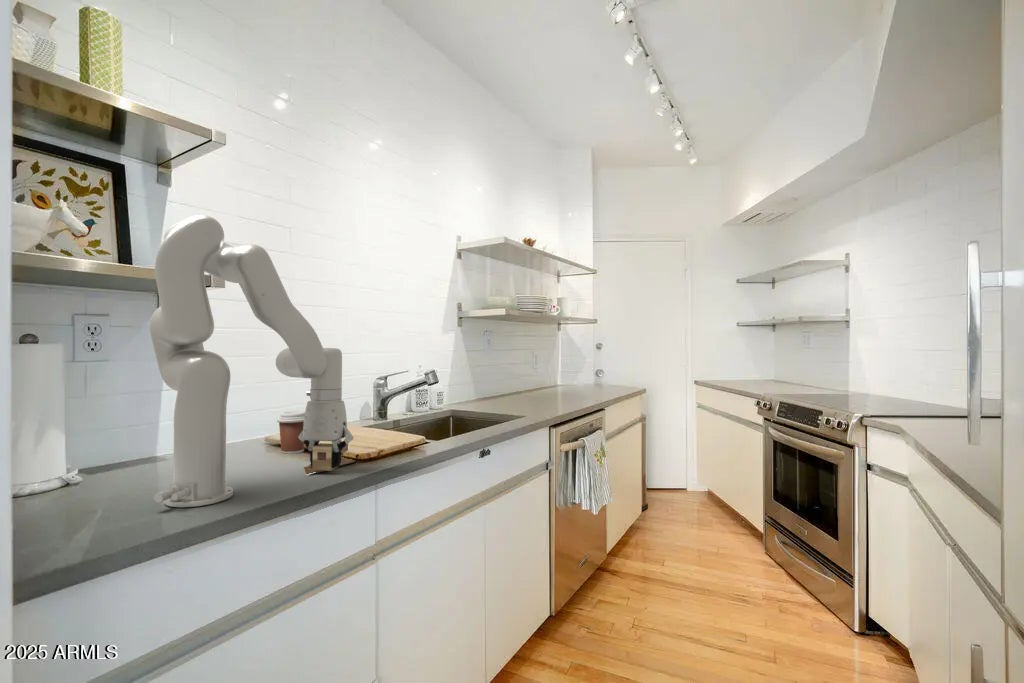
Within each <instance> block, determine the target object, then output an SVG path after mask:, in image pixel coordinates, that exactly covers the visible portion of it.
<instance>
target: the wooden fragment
mask: <svg viewBox="0 0 1024 683" xmlns="http://www.w3.org/2000/svg"><path fill="white" fill-rule="evenodd" d="M356 461H357V459H356V460H352V459H347V458H344V457H342V456H341V463H340V465H339V466H338V467H340V466H345V465H349V464H352V463H356ZM304 469H305V471H304V472H305V474H309V473H313V472H316V473H317V474H319V473H323V472H326V470H312V467H311V463H310V464H309V465H307V466H304V467H303V470H304Z"/></svg>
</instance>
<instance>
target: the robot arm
mask: <svg viewBox="0 0 1024 683" xmlns="http://www.w3.org/2000/svg"><path fill="white" fill-rule="evenodd" d="M154 264H155V266H154V273H155V281H156V282H155V283H156V287H157V293H158V299H159V304H160V306H159V307H158V308H156V309H155V310H154V312H153V313H152V315H151V317H150V322H149V331H150V337H151V341H152V346H153V350H154V355H155V358H156V362H157V365H158V370H159V373H160V376H161V378H162V380H163V382H164V383H165V385H166V386H168V387H169V388H170V389H171V390H173V391H175V392H177V393H176V399H175V404H174V405H175V406H174V411H173V462H172V463H173V468H172V470H173V472H172V473H173V476H172V478H173V479H172V480H173V481H171V482H169V487H168V488H167V489H166V490H162V491H158V492H156V493H155V494H154V496H153V499H154V501H155V502H156V503H158V504H159V503H161V502H163V504H164V505H165V506H168V507H171V508H172V507H173V508H194V507H202V506H209V505H212V504H216V503H217V504H218V503H220V502H222V501H226V500H227V499H230V498H231V497H232V496H233V495H234V489H233V487H231V486H228V485H226V476H227V475H226V469H227V468H226V464H227V463H226V459H227V452H226V451H227V405H228V404H227V403H228V396H229V390H230V385H231V370H230V366H229V365H228V363H227V361H226V360H225V359H224V358H223V357H222V356H221V355H219V353H218V354H217V353H216V352H212V351H210V350H205V347H204V343H205V342H206V341H208V340H209V339H210V338H211V337H212V336H213V334H214V330H215V320H214V316H213V312H212V309H211V308H212V307H211V304H210V299H209V296H208V291H207V286H206V279H205V273H206V274H209V275H211V276H214V277H216V278H219V279H221V280H222V281H227V282H229V283H233V284H238V285H239V288H241V291H242V293H243V294H244V295H243V296H245V299H246V300H247V302H248V305H249V307H250V310H251V311H252V313H253V315H254V316H255V318H256V319H257V320H259V321H260V322H261V323H262V324H264V325H266V326H267V327H269V328H270V329H272V330H273V331H274V332H276V333H277V335H279V336H280V337H281V339H282V340H283V341H284V343H285V344H286V345H287V347H286V348H285V349H283V350H281V351H280V352H279V353H278V354H277V356H276V358H275V367H276V369H277V370H278V372H279V373H280V374H282V375H284V376H286V377H290V378H297V379H298V378H299V379H300V378H301V379H310V389H309V390H307V391H306V397H309V399H310V400H308V401H307V402H306V407H305V409H304V410H305V411H304V412H305V416H304V426H303V431H302V432H301V433H300V435H299V436H298V438H299V439H300V440H301V441H302V442H304V446H306V448H307V450H308V451H309V462H310V464H311V467H312V462H313V446H315V445H318V444H320V443H321V442H331V444H332V445H333V448H334V452H332V468H335V467H337V466H338V467H340V466H339V465H340V463H341V450H343V448H344V447H345V446H346V445H347V444H348V445H349V443H351V442H352V441H353V440H354V439H355V438H354V437H355V436H353V434H352V433H351V432H350V430H349V429H348V419H347V418H348V417H347V410H346V405H345V401H344V400H342V398H343V397H342V396H343V393H342V392H343V390H342V389H343V352H342V350H340V349H339V348H335V347H323V345H322V343H321V340H320V338H319V336H318V334H317V332H316V331H315V329H314V327H313V326H312V325H311V323H310V322H309V321H308V320H307V318H306V317H304V315H302V313H301V312H300V310H298V309H297V308H296V306H294V305H293V302H292V301H291V299H290V298H289V295H288V292H287V291H286V289H285V287H284V285H283V282H282V280H281V278H280V276H279V274H278V272H277V269H276V267H275V265H274V263H273V261H272V259H271V257H270V255H269V253H268V251H267V250H266V249H265V248H263V247H262V246H260V245H258V244H253V243H251V244H249V243H247V244H246V243H245V244H241V245H237V246H234V245H231V244H228V243H226V242H225V231H224V229H223V226H222V224H221V223H220V222H219V221H218V220H217V219H215V218H214V217H211V216H208V215H205V214H204V215H203V214H199V215H197V214H196V215H192V216H189V217H187V218H184V219H183V220H181V221H178V222H176V223H173V225H170V226H168V228H167V229H166V231H165V232H164V235H163V241H162V242H161V245H160V246H159V248H158V251H157V254H156V257H155V263H154ZM342 439H344V440H342ZM338 467H337V468H338ZM335 469H336V468H335Z"/></svg>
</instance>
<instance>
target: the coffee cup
mask: <svg viewBox="0 0 1024 683" xmlns="http://www.w3.org/2000/svg"><path fill="white" fill-rule="evenodd" d="M304 416H305V411H303V410H301V411H300V410H298V411H297V410H296V411H295V410H291V411H283V412H280V415H279V416H278V418H276V423H278V427H279V438H280V452H281V454H284V455H285V454H286V455H293V454H300V453H301V454H302V453H303V452H305V444H304V442H302V441H301V440H300V439H299V438H298V436H299V435H300V433H301V432H302V431H303V426H304Z"/></svg>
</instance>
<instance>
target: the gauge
mask: <svg viewBox="0 0 1024 683" xmlns="http://www.w3.org/2000/svg"><path fill="white" fill-rule="evenodd" d="M347 451H349V443H348V444H347V445H346V446H345V447H344V448H343V450H341V455H343V454H344V453H346V452H347ZM332 452H334V448H333V445H332V443H326V442H325V443H321V442H319V444H318V445H315V446H313V462H312V470H326V471H333V470H335V469H337V468H339V466H337V467H335V468H332ZM326 471H325V472H326Z"/></svg>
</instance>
